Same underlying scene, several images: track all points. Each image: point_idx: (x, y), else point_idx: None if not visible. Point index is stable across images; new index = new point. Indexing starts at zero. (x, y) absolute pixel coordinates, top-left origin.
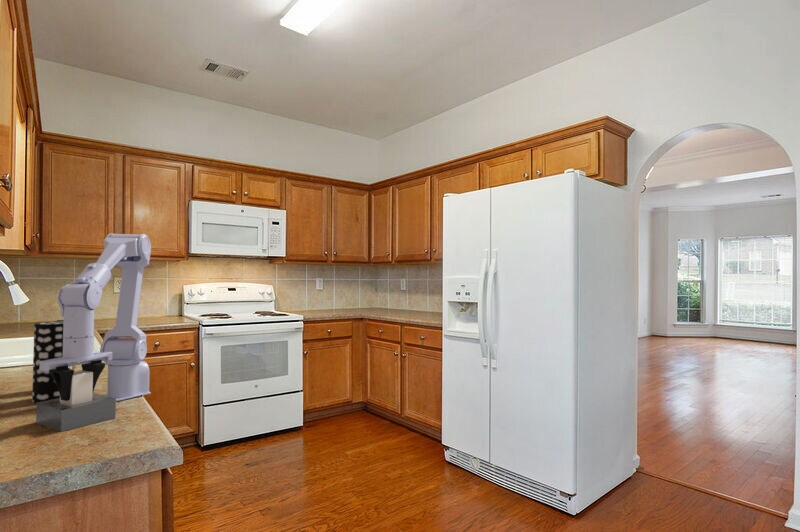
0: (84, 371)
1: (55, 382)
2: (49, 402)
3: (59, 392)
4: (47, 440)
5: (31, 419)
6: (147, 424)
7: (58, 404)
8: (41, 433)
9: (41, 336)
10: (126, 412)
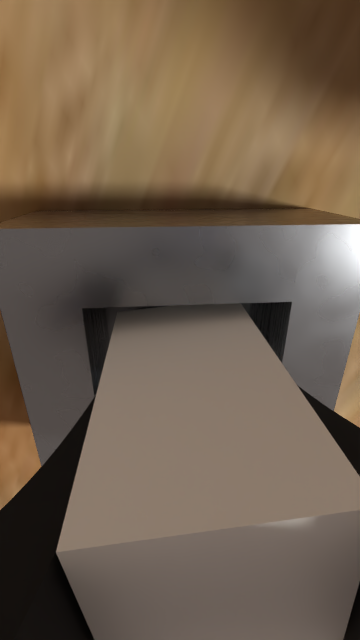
0: (325, 596)
1: (13, 497)
2: (54, 306)
3: (77, 424)
4: (16, 472)
5: (37, 84)
6: None
7: (78, 400)
8: (19, 391)
9: None
10: (352, 375)
